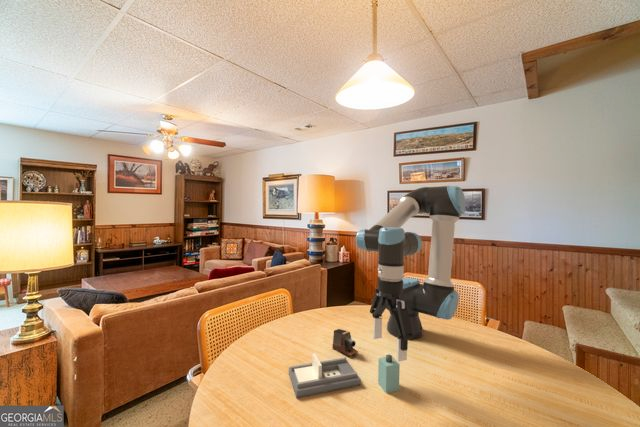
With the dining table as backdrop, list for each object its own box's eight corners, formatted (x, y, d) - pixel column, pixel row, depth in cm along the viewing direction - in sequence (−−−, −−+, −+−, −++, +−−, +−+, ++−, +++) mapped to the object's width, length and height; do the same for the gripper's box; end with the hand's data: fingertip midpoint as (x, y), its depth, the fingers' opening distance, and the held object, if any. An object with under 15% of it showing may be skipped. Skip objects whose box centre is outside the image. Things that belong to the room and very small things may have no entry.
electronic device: (350, 359, 98) (350, 338, 98) (331, 348, 105) (331, 329, 105) (358, 354, 101) (358, 334, 101) (339, 345, 108) (339, 326, 108)
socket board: (345, 363, 95) (345, 355, 95) (360, 385, 83) (360, 375, 83) (288, 373, 89) (288, 364, 89) (296, 398, 77) (296, 387, 77)
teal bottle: (390, 381, 86) (391, 351, 85) (399, 390, 81) (399, 358, 81) (378, 383, 84) (378, 353, 84) (385, 393, 80) (386, 361, 80)
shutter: (315, 367, 89) (315, 353, 89) (321, 380, 82) (321, 365, 82) (294, 370, 87) (294, 356, 87) (299, 384, 80) (299, 369, 80)
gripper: (360, 270, 93) (359, 331, 93) (404, 291, 69) (401, 374, 69) (380, 269, 95) (378, 329, 95) (428, 289, 71) (426, 369, 72)
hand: (388, 348), depth 82 cm, fingers open, 13 cm apart
